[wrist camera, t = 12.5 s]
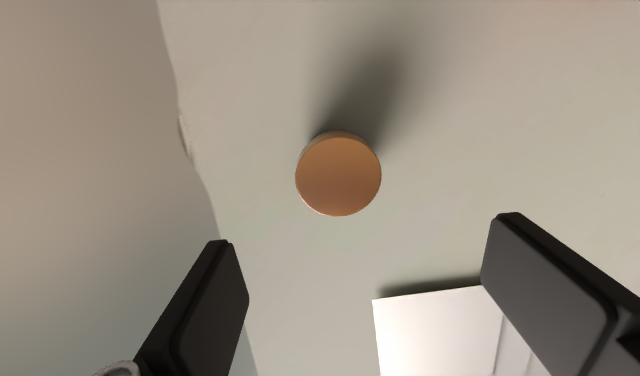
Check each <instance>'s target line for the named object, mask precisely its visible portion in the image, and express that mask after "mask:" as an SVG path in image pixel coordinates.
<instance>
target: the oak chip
mask: <svg viewBox="0 0 640 376" xmlns="http://www.w3.org/2000/svg"><path fill="white" fill-rule="evenodd" d="M295 180H296V187H297V190H298V193H299V195H300V197H301V198H302V200H303V201H304V202H305V203H306V204H307V205H308V206H309V207H310V208H311V209H313V210H315V211H316V212H318V213H321V214H324V215H327V216H335V217H339V216H347V215H351V214H354V213H356V212H358V211H360V210H362V209H363V208H365V207H366V206H367V205H368V204H369V203H370V202H371V201H372V200H373V199H374V197H375V196H376V194H377V192H378V190H379V187H380V183H381V167H380V163H379V161H378V159H377V157H376V155H375V154H374V152H373V151H372V149H371V148H370V147H369V145H368V144H367V143H366V142H365V141H364V140H362V139H361V138H360V137H358V136H356V135H354V134H351V133H348V132H341V131H334V132H328V133H325V134H322V135H320V136H318V137H316V138H314V139H313V140H312V141H310V142H309V143H308V144H307V145H306V147H305V148H304V149H303V151H302V153H301V155H300V157H299V160H298V164H297V169H296V175H295Z"/></svg>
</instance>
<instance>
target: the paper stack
mask: <svg viewBox="0 0 640 376" xmlns="http://www.w3.org/2000/svg"><path fill="white" fill-rule="evenodd" d="M372 304H373V312H374V320H375V329H376V337H377V345H378V354H379V362H380V370H381V376H551V375H550V373H549V372H548V371H547V370H546V368H545V367H544V366H543V364H542V363H541V362H540V360H539V359H538V358H537V356H536V355H535V354H534V353H533V351H532V350H531V349H530V347H529V346H528V345H527V343H526V342H525V341H524V339H523V338H522V337H521V335H520V334H519V333H518V332H517V330H516V329H515V328H514V326H513V325H512V324H511V322H510V321H509V320H508V318H507V317H506V316H505V314H504V313H503V312H502V311H501V309H500V308H499V307H498V305H497V304H496V303H495V301H494V300H493V299H492V297H491V296H490V295H489V294H488V292H487V291H486V290H485V288H484V287H483V285H478V286H471V287H463V288H456V289H448V290H441V291H433V292H426V293H418V294H410V295H403V296H395V297H388V298H380V299H373V300H372Z"/></svg>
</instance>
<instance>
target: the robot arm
mask: <svg viewBox="0 0 640 376" xmlns="http://www.w3.org/2000/svg"><path fill="white" fill-rule="evenodd" d="M480 281H481V284H482V285H483V287H484V288H485V290H486V291H487V292H488V294H489V295H490V296H491V297H492V299H493V300H494V301H495V303H496V304H497V305H498V307H499V308H500V309H501V311H502V312H503V313H504V314H505V316H506V317H507V318H508V320H509V321H510V322H511V324H512V325H513V326H514V328H515V329H516V330H517V332H518V333H519V334H520V335H521V337H522V338H523V339H524V341H525V342H526V343H527V345H528V346H529V347H530V349H531V350H532V351H533V353H534V354H535V355H536V356H537V358H538V359H539V360H540V362H541V363H542V364H543V366H544V367H545V368H546V370H547V371H548V372H549V373H550V375H551V376H640V297H638V296H637V295H635V294H634V293H632V292H631V291H630V290H628V289H627V288H625V287H624V286H623V285H621V284H620V283H618V282H617V281H615V280H614V279H613V278H611V277H610V276H608V275H607V274H606V273H604V272H603V271H601V270H600V269H599V268H597V267H596V266H594V265H593V264H591V263H590V262H589V261H587V260H586V259H584V258H583V257H582V256H580V255H579V254H577V253H576V252H574V251H573V250H572V249H570V248H569V247H567V246H566V245H565V244H563V243H562V242H560V241H559V240H558V239H556V238H555V237H553V236H552V235H550V234H549V233H548V232H546V231H545V230H543V229H542V228H541V227H539V226H538V225H536V224H535V223H534V222H532V221H531V220H529V219H528V218H526V217H525V216H524V215H522V214H521V213H519V212H511V213H500V214H498V215H497V216H496V218H494V219H493V220H492V221H491V225H490V230H489V235H488V239H487V244H486V249H485V253H484V258H483V263H482V267H481V272H480ZM248 306H249V294H248V291H247V288H246V284H245V281H244V278H243V275H242V272H241V269H240V265H239V262H238V259H237V256H236V253H235V250H234V246H233V244H232V243H228V241H227V240H225V239H223V240H213V241H209V242H208V243H207V244H206V246H205V248H204V249H203V251H202V252H201V254H200V255H199V257H198V259H197V260H196V262H195V263H194V265H193V266H192V268H191V270H190V271H189V273H188V274H187V276H186V277H185V279H184V280H183V282H182V284H181V285H180V287H179V288H178V290H177V291H176V293H175V295H174V296H173V298H172V299H171V301H170V302H169V304H168V306H167V307H166V309H165V310H164V312H163V313H162V315H161V316H160V318H159V320H158V321H157V323H156V324H155V326H154V327H153V329H152V330H151V332H150V334H149V335H148V337H147V338H146V340H145V341H144V343H143V345H142V346H141V348H140V349H139V351H138V353H137V354H136V356H135V358H134V359H133V361H119V362H116V363H112V364H110V365H108V366H107V367H105V368H103V369H101V370H100V371H98V372H97V373H95V374H94V375H92V376H228V374H229V370H230V367H231V364H232V360H233V357H234V353H235V350H236V347H237V343H238V340H239V336H240V333H241V330H242V326H243V323H244V320H245V316H246V313H247V309H248Z"/></svg>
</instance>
